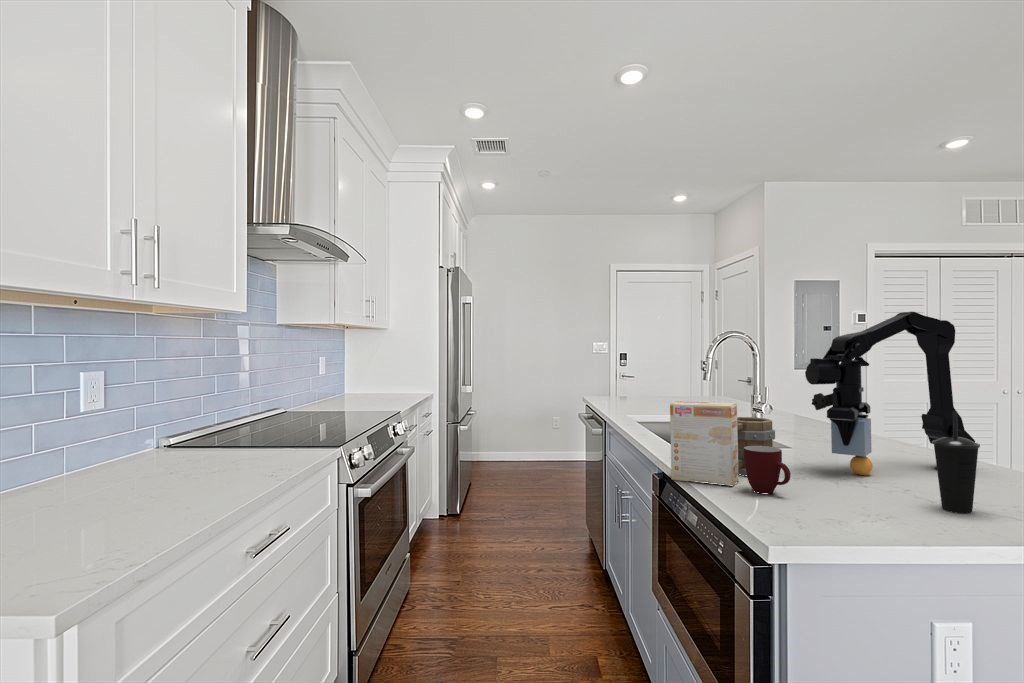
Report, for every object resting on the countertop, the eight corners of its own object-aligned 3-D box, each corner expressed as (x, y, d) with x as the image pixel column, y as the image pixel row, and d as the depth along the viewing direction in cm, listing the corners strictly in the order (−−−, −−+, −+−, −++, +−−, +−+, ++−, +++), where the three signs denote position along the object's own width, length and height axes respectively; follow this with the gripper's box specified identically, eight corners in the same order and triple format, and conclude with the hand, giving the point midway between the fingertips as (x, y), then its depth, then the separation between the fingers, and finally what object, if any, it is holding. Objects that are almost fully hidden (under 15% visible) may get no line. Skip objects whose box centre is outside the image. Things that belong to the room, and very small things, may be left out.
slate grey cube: (839, 449, 152) (838, 416, 153) (871, 452, 147) (870, 418, 147) (831, 453, 147) (831, 419, 147) (864, 456, 142) (864, 421, 142)
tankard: (743, 464, 159) (743, 411, 159) (786, 472, 149) (786, 416, 149) (697, 473, 148) (697, 416, 148) (740, 483, 138) (739, 421, 138)
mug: (800, 494, 127) (799, 450, 127) (783, 501, 122) (782, 455, 122) (755, 486, 135) (754, 444, 135) (737, 491, 130) (736, 448, 130)
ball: (865, 450, 147) (878, 468, 145) (847, 459, 150) (860, 476, 148) (862, 453, 143) (875, 471, 141) (843, 462, 146) (856, 479, 144)
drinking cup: (963, 505, 118) (962, 409, 118) (991, 516, 110) (989, 413, 110) (924, 504, 118) (923, 409, 118) (949, 515, 111) (947, 413, 111)
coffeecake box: (739, 481, 140) (737, 402, 140) (732, 487, 134) (731, 405, 134) (679, 474, 148) (677, 400, 148) (670, 480, 142) (669, 403, 142)
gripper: (824, 380, 160) (825, 435, 160) (804, 384, 146) (805, 445, 146) (870, 382, 152) (871, 439, 152) (853, 386, 139) (854, 449, 139)
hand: (849, 443), depth 147 cm, fingers closed on slate grey cube, 7 cm apart
